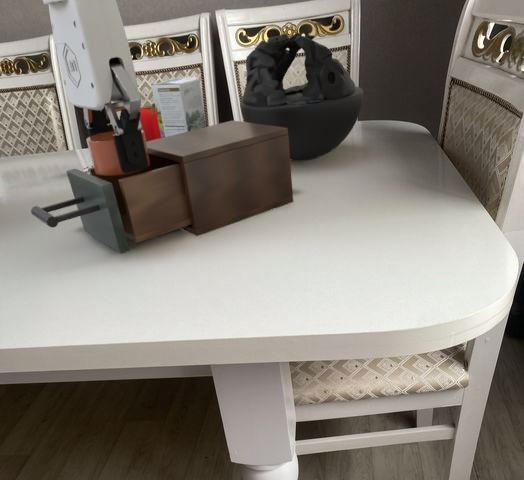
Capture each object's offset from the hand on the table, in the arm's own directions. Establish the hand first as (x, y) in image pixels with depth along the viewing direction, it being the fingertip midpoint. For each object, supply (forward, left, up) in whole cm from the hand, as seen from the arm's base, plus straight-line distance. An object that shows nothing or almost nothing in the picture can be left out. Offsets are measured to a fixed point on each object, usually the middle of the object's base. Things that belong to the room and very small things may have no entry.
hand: (121, 164), depth 62 cm
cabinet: (+13, 0, -9) cm, 15 cm away
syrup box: (+21, +22, -9) cm, 31 cm away
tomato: (+22, +34, -9) cm, 41 cm away
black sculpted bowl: (+37, +10, -9) cm, 39 cm away
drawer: (-1, 0, -8) cm, 8 cm away
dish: (0, 0, -1) cm, 1 cm away
